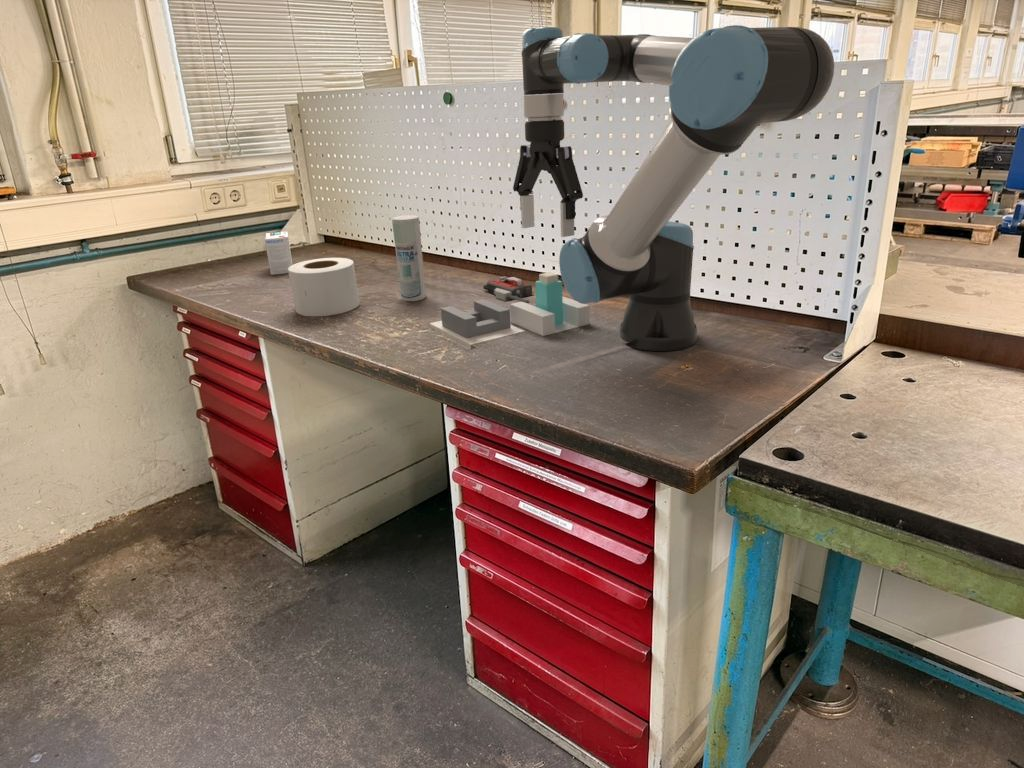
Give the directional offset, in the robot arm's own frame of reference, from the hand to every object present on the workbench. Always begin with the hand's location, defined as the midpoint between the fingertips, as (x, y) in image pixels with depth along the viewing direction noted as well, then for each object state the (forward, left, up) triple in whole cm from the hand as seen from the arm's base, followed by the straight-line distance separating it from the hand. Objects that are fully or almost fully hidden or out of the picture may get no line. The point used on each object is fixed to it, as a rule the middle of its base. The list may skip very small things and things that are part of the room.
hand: (547, 231), depth 140 cm
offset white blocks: (0, 0, -20) cm, 20 cm away
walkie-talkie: (+26, -8, -21) cm, 34 cm away
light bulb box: (+99, +29, -21) cm, 105 cm away
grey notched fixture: (+8, +13, -20) cm, 26 cm away
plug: (0, 0, -19) cm, 19 cm away
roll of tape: (+49, +32, -21) cm, 62 cm away
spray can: (+42, +12, -20) cm, 48 cm away
